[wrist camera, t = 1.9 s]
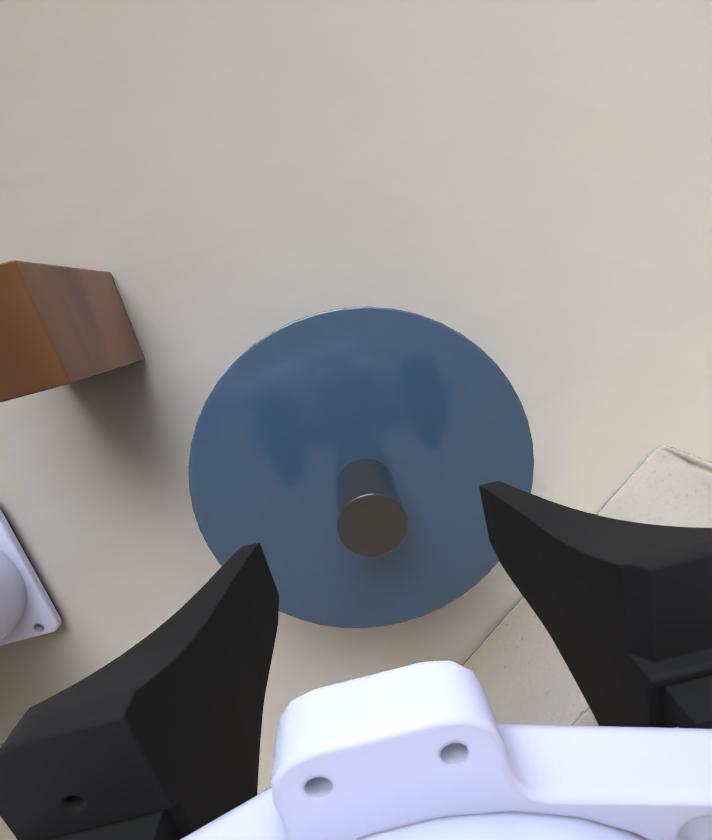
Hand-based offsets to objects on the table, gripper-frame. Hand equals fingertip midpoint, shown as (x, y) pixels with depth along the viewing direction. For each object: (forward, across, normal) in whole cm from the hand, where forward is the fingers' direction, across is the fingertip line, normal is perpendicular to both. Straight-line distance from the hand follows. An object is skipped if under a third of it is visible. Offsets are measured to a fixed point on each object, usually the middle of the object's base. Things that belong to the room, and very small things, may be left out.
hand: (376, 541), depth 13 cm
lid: (+5, 0, 0) cm, 5 cm away
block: (+9, +11, -9) cm, 16 cm away
